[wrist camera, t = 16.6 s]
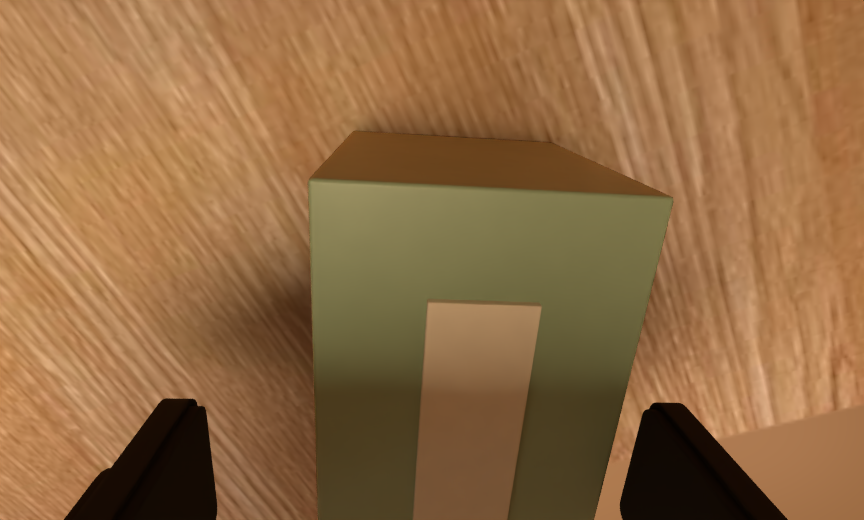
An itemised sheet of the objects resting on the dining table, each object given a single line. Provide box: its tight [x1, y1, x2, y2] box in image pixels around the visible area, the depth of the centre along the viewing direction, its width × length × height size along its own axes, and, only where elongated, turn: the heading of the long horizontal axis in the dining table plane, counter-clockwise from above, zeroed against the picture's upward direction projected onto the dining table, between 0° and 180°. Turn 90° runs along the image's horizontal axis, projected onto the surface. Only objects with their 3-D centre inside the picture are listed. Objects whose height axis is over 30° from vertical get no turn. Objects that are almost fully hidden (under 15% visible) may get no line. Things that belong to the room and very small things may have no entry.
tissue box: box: [308, 131, 673, 520], centre depth 13 cm, size 6×11×7 cm, turn 176°
